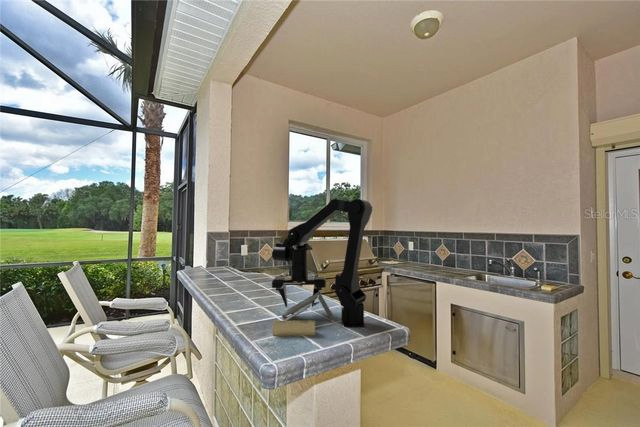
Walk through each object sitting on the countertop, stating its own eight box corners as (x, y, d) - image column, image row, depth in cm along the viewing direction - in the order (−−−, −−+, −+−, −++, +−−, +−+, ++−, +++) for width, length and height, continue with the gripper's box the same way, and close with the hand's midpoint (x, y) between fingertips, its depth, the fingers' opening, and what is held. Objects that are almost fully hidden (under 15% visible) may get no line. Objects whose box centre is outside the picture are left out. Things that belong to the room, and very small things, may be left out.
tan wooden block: (315, 331, 83) (315, 319, 83) (315, 335, 80) (315, 322, 80) (274, 331, 83) (274, 319, 83) (272, 335, 80) (272, 323, 80)
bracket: (334, 327, 87) (318, 298, 87) (293, 350, 87) (277, 322, 87) (333, 316, 97) (319, 290, 98) (297, 337, 97) (283, 311, 98)
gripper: (325, 259, 109) (325, 300, 108) (276, 260, 109) (276, 301, 108) (325, 263, 98) (325, 309, 97) (271, 264, 98) (271, 309, 97)
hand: (299, 306), depth 100 cm, fingers open, 9 cm apart
